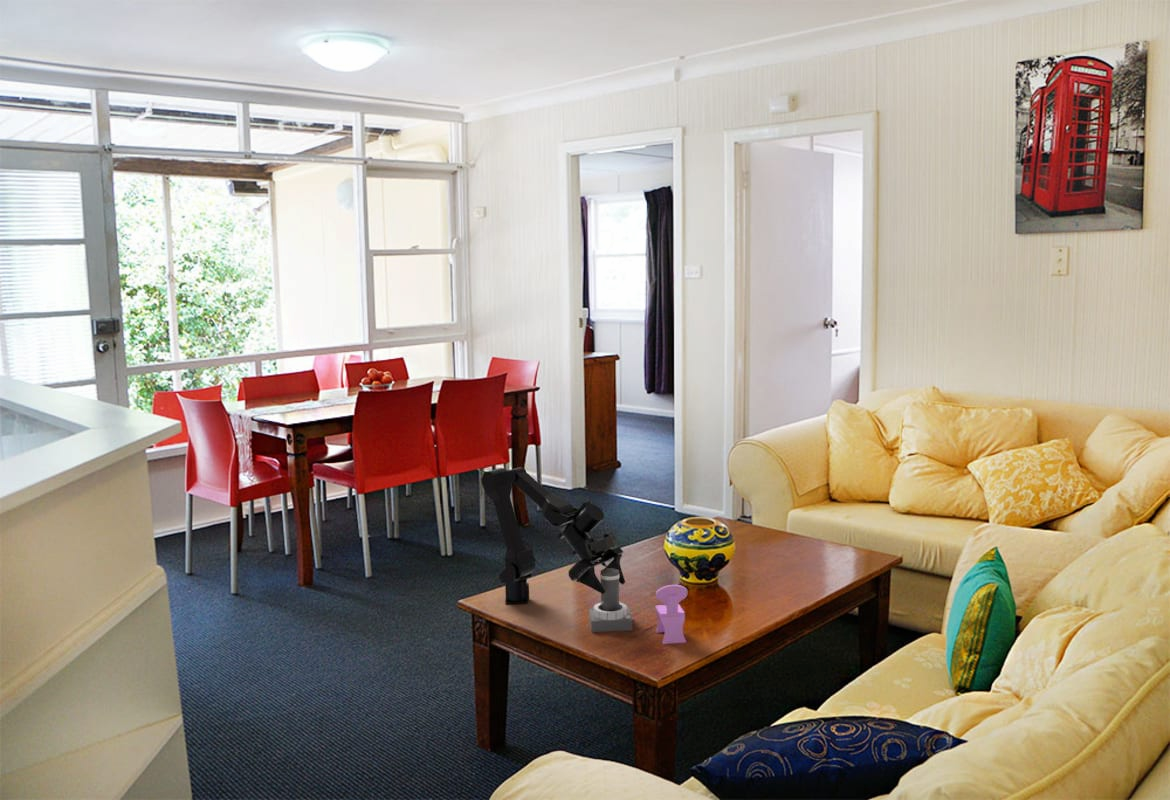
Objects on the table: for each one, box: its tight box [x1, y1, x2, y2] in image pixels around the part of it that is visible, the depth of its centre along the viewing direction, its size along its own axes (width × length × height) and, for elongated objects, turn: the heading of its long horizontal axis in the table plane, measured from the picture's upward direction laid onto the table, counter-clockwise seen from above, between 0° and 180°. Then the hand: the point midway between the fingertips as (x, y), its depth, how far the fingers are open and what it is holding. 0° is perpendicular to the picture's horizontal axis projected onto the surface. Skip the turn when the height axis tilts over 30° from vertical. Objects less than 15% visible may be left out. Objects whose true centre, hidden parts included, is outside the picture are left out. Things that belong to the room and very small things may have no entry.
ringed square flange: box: [588, 601, 634, 633], centre depth 258 cm, size 11×10×5 cm
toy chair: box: [654, 584, 688, 645], centre depth 249 cm, size 8×9×15 cm
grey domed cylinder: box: [599, 568, 620, 611], centre depth 258 cm, size 5×5×12 cm
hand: (614, 588), depth 257 cm, fingers open, 9 cm apart
